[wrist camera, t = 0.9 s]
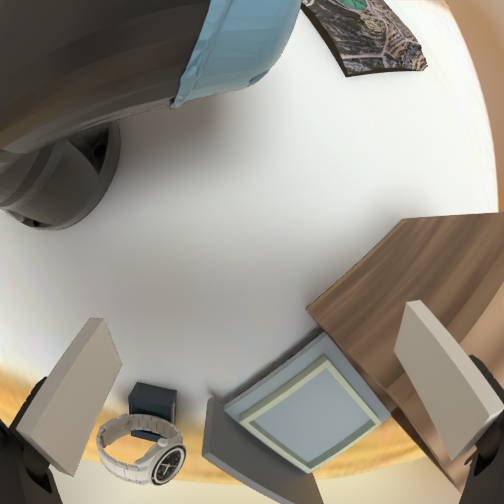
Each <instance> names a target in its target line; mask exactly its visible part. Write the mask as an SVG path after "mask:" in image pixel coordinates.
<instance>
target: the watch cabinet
mask: <svg viewBox="0 0 504 504" xmlns="http://www.w3.org/2000/svg"><path fill="white" fill-rule="evenodd" d="M417 300H421V301H422V303H423V304H424V305H425V306H426V307H427V308H428V309H429V310H430V311H431V313H432V314H433V315H434V316H435V317H436V318H437V319H438V320H439V322H440V323H441V324H442V325H443V326H444V327H445V329H446V330H447V331H448V332H449V333H450V334H451V336H452V337H453V338H454V339H455V340H456V342H457V343H458V344H459V345H460V347H461V348H462V349H463V350H464V352H465V353H466V354H467V355H468V356H469V355H471V354H472V355H474V356H475V357H477V358H478V359H480V360H481V361H482V362H483V363H484V364H485V366H486V367H487V368H488V369H489V370H488V371H490V372H491V373H492V375H493V376H494V378H495V379H496V380H497V381H498V383H499V384H500V385H501V387H502V388H503V389H504V212H502V213H483V214H466V215H450V216H435V217H421V218H407V219H402V220H401V221H400V222H399V223H398V224H397V225H396V226H395V227H394V228H393V229H392V230H391V231H390V232H389V233H388V234H387V235H386V236H385V237H384V238H383V239H382V240H381V241H380V242H379V243H378V244H377V245H376V246H375V247H374V248H373V249H372V250H371V251H370V252H369V253H368V254H367V255H365V256H364V257H363V258H362V259H361V260H360V261H359V262H358V263H357V264H356V265H355V266H354V267H353V268H351V269H350V270H349V271H348V272H347V273H346V274H345V275H344V276H343V277H342V278H340V279H339V280H338V281H337V282H336V283H335V284H334V285H332V286H331V287H330V288H329V289H328V290H327V291H326V292H324V293H323V294H322V295H321V296H320V297H319V298H318V299H316V300H315V301H314V302H313V303H312V304H310V305H309V306H308V307H307V308H306V310H307V312H308V313H309V314H310V315H311V316H312V318H313V319H314V320H315V321H316V323H317V324H318V325H319V326H320V328H321V329H322V330H323V331H324V332H325V333H326V334H327V335H328V336H329V337H330V339H331V340H332V341H333V342H334V344H335V345H336V346H337V347H338V349H339V350H340V351H341V352H342V354H343V355H344V356H345V357H346V359H347V360H348V361H349V362H350V364H351V365H352V366H353V367H354V369H355V370H356V371H357V372H358V374H359V375H360V376H361V377H362V379H363V380H364V381H365V382H366V384H367V385H368V386H369V387H370V389H371V390H372V391H373V392H374V394H375V395H376V396H377V397H378V399H379V400H380V401H381V402H382V404H383V405H384V406H385V408H386V409H387V410H388V411H389V413H390V414H391V416H392V417H393V418H394V420H395V421H396V422H397V423H398V424H399V425H400V426H401V427H402V428H403V430H404V431H405V432H406V433H407V434H408V435H409V436H410V437H411V438H412V440H413V441H414V442H415V443H416V444H417V445H418V446H419V447H420V448H421V450H422V451H423V452H424V453H425V454H426V455H427V456H428V457H429V458H430V460H431V461H432V462H433V463H434V464H435V465H436V466H437V467H438V468H439V470H440V471H441V472H442V473H443V474H444V475H445V476H446V477H447V478H448V480H449V481H450V482H451V483H452V484H453V485H454V486H455V487H456V488H457V489H458V491H459V492H460V493H461V494H462V493H463V490H464V487H465V484H466V480H467V477H468V474H469V470H470V466H469V465H470V464H471V462H472V460H471V461H470V462H469V463H468V464H467V465H464V463H465V461H466V460H467V459H468V458H469V457H470V456H471V455H472V454H473V453H474V452H475V451H476V449H477V448H476V446H475V445H474V446H473V447H472V448H471V449H470V450H469V451H468V452H467V453H466V454H464V455H462V456H460V457H458V458H456V459H454V460H452V461H451V459H450V457H449V455H448V453H447V451H446V448H445V446H444V444H443V442H442V440H441V438H440V436H439V434H438V432H437V430H436V428H435V426H434V424H433V422H432V420H431V418H430V416H429V414H428V412H427V410H426V408H425V406H424V404H423V402H422V400H421V398H420V397H419V395H418V393H417V391H416V389H415V387H414V386H413V384H412V382H411V380H410V378H409V377H408V375H407V373H406V371H405V369H404V368H403V366H402V364H401V362H400V361H399V359H398V357H397V356H396V354H395V352H394V347H395V344H396V340H397V337H398V333H399V330H400V326H401V322H402V318H403V314H404V310H405V306H406V302H410V301H417Z"/></svg>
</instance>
